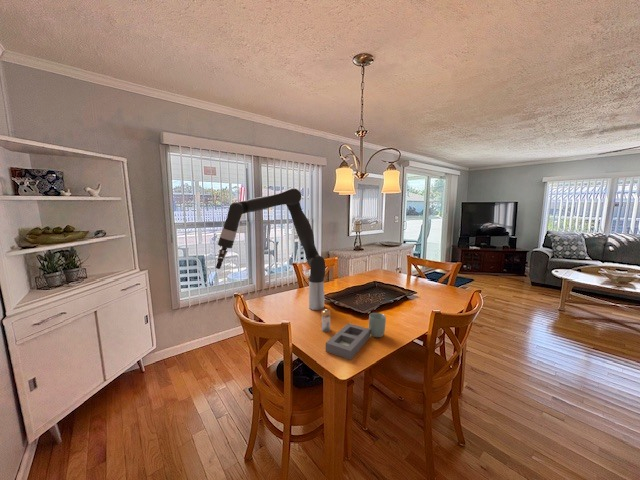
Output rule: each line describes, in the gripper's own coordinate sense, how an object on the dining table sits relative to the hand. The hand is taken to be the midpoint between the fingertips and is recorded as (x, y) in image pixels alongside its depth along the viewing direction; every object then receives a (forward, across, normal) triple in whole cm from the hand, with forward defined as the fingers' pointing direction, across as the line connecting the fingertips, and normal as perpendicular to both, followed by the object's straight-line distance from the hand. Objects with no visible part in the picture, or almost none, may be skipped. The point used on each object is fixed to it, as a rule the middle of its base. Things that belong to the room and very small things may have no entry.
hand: (218, 267), depth 138 cm
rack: (+12, -42, -65) cm, 78 cm away
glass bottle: (+13, -26, -59) cm, 66 cm away
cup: (+7, -39, -80) cm, 89 cm away
